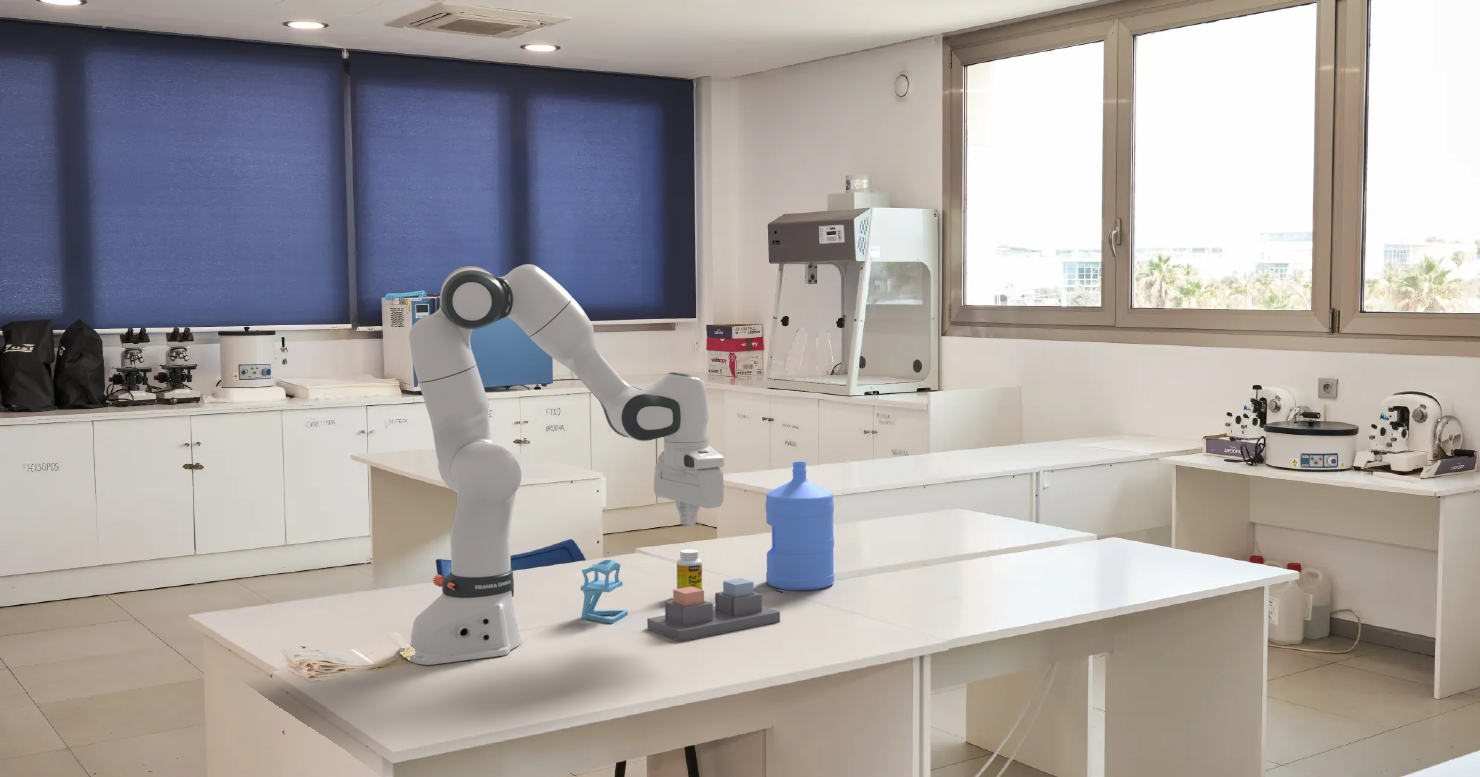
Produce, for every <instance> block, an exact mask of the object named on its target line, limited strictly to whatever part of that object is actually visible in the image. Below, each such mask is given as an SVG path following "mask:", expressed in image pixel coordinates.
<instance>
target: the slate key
mask: <svg viewBox="0 0 1480 777" xmlns="http://www.w3.org/2000/svg"><path fill="white" fill-rule="evenodd" d="M722 583H723V584H722V586H723V588H722V592H723V594H725V595H728V596H731V597H734V598H738V597H744V596H749V595H754V592H755V590H754V581H751V580H749V579H745V578H741V577H739V578H735V579H734V578H733V579H728V580H723V582H722Z"/></svg>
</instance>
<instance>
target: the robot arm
mask: <svg viewBox="0 0 1480 777" xmlns="http://www.w3.org/2000/svg"><path fill="white" fill-rule="evenodd" d="M439 294H440V296H439V299H438V305H437V307H436V311H435V312H434V313H432V314H429V315H428V314H427V315H426V316H424V317H423V316H422V317H421V318H420V319H418V320H417V321H416V322H415V323H414V324H413V325H412V326H411V328H410V331H409V333H408V334H409V335H408V339H409V348H410V353H411V358H412V364H413V368H414V372H415V374H416V379H417V382H418V385H419V388H420V391H421V392H420V393H421V396H422V398H423V401H424V403H425V407H426V411H427V413H428V416H429V420H430V423H431V428H432V433H433V434H432V435H433V440H434V447H435V452H436V457H437V458H436V459H437V462H438V464H437V467H438V468H437V469H438V471H439V472H438V473H439V474H440V477H441V479H442V481H443V483H444V484H445V486H447V487H448V488H449V489H450V490H451V491H453V492H454V493H456V495H457V498H456V499H457V500H456V501H457V502H456V508H455V514H454V521H453V525H452V527H451V530H450V536H449V537H450V564H451V565H450V568H451V570H450V572H449V574H447V576H445V577H444V576H442V575H441V574H436V575H434V577H433V578H432V583H433V584H434V585H435V586H437V587H439V588H441V590H442V592H441V593H442V594H440V596H438V597H437V598H436V599H435V600H433V602H431V604H429V605H428V606H427V607H426V608H425V609H423V610H422V611H421V612H420V613H419V614H417V615H416V616H415V618H414V621H413V624H412V629H411V636H410V641H408V642H406V643H408V644H410V646H411V647H413V648H414V649H415V652H416V653H415V655H412V656H410V661H409V662H412V663H414V664H419V665H427V666H429V665H430V666H431V665H438V664H446V663H454V662H462V661H469V660H477V659H485V658H493V657H501V656H505V655H508V654H510V651H511V650H512V649H515V648H516V647H518V646H520V645H521V643H522V639H521V636H520V633H519V629H518V626H517V621H516V617H515V610H514V600H513V598H514V593H515V590H514V589H515V580H514V570H513V569H512V568H511V567H512V566H511V526H512V517H513V510H514V506H515V500H516V499H515V498H516V493H517V491H518V489H519V487H520V485H521V481H522V469H521V466H520V464H519V462H518V461H517V459H516V458H515V457H514V456H513V454H512V453H511V452H510V451H509V450H508V449H507V448H504V447H502V446H500V445H497V444H495V443H494V441H493V439H492V434H491V428H490V422H489V421H490V420H489V409H490V408H489V407H490V406H489V400H488V397H487V393H486V390H485V387H484V384H483V381H482V377H481V374H480V372H479V368H478V365H477V362H476V359H475V355H474V353H473V349H472V345H471V344H472V343H471V334H472V332H473V330H478V329H482V328H486V327H488V326H490V325H492V324H494V323H496V322H498V321H500V320H502V319H505V318H508V319H509V320H511V321H513V322H514V323H515V324H516V325H517V326H519V327H520V329H521V330H522V331H523V332H524V334H526V335H527V336H528V337H529V338H530V340H531V341H532V342H533V343H534V344H535V345H537V347H538V348H540V349H541V350H542V351H543V352H545V353H546V354H547V355H548V356H550V358H552V359H554V360H555V361H556V362H558V363H560V364H562V365H563V366H565V367H566V368H567V369H569V370H570V371H571V372H572V373H573V374H574V375H575V376H576V377H577V378H578V379H579V380H580V381H581V382H582V384H584V385H585V387H586V388H587V389H588V390H589V391H590V392H591V393H592V394H593V395H594V396H595V398H596V399H597V400H598V401H599V403H600V405H601V407H602V409H603V410H602V411H603V413H604V416H605V419H606V421H607V424H608V425H609V428H611V429H612V431H613V432H614V433H615V434H617V435H619V436H621V437H623V438H629V439H632V440H636V441H639V442H651V441H653V440H656V439H657V440H658V439H661V438H663V446H664V447H663V451H661V453H660V455H659V456H658V457H657V462H656V464H655V467H654V476H653V479H654V480H653V491H654V494H655V496H656V497H657V498H662V499H666V500H671V501H674V502H675V506H676V511H677V512H678V515H679V523H680V525H684V526H688V527H694V526H696V522H697V521H696V516H697V514H698V512H699V510H700V508H705V509H713V508H714V509H715V508H720V507H721V506H722V504H723V502H724V492H725V489H724V488H725V487H724V485H725V483H724V481H725V480H724V473H723V471H722V469H721V467H724V464H725V458H724V456H723V455H722V454H720V453H719V452H717V451H716V449H714V448H713V447H712V446H711V445H710V438H709V434H708V427H707V426H708V422H709V417H710V416H709V414H710V413H709V400H708V392H707V391H708V390H707V385H706V382H705V381H704V380H703V378H702V377H699V376H697V375H693V374H688V373H681V372H676V371H674V372H672V371H671V372H668V373H666V375H665V376H664V377H662V378H661V379H660V380H658V381H657V382H655V383H653V384H651V385H649V386H646V387H645V388H643V389H641V388H638V387H636V386H634V385H631V384H629V383H628V382H626V381H625V380H624V379H623V378H622V377H621V376H620V375H619V374H618V373H617V371H616V370H615V369H614V368H613V367H612V366H611V365H610V364H609V363H608V361H607V360H606V359H605V358H604V357H603V355H602V354H601V353H600V351H599V350H598V348H597V346H596V343H595V336H594V335H595V334H594V333H595V332H594V331H595V330H594V325H593V323H592V322H591V320H590V318H589V317H588V315H587V314H586V312H585V310H584V309H583V308H582V307H581V305H580V304H579V302H577V301H576V300H575V298H574V297H572V295H571V294H570V293H569V291H567V290H566V289H565V288H564V287H563V286H562V285H561V284H560V283H559V282H558V281H557V280H555V279H554V278H553V277H552V276H551V275H549V274H548V273H547V272H546V271H544V270H543V269H541V268H540V267H539V266H537V265H535V264H529V263H527V264H522V265H520V266H519V265H518V266H517V267H514V268H513V269H512V270H510V271H509V272H508V273H507V274H505V275H503V276H496V275H493V274H492V273H491V272H489V271H488V270H486V269H485V268H483V267H481V266H476V265H464V266H460V267H457V268H456V269H454V270H452V271H451V272H450V273H449V274H448V275H447V276H446V278H445V279H444V281H443V282H442V285H441V287H440V292H439ZM398 649H399V650H398V653H399V652H404V651H405V648H401V647H400V646H399V648H398Z"/></svg>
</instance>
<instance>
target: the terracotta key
mask: <svg viewBox="0 0 1480 777" xmlns="http://www.w3.org/2000/svg"><path fill="white" fill-rule="evenodd" d="M672 593H673V595H672V596H673V603H675V604H678V605H680V606H683V607H688V606H694V605H699V604H704V600H705V590H704V589H702V590H701V589H698V588H695V587H692V586H691V587H686V588H680V589H677V588H674V589H672Z"/></svg>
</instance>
